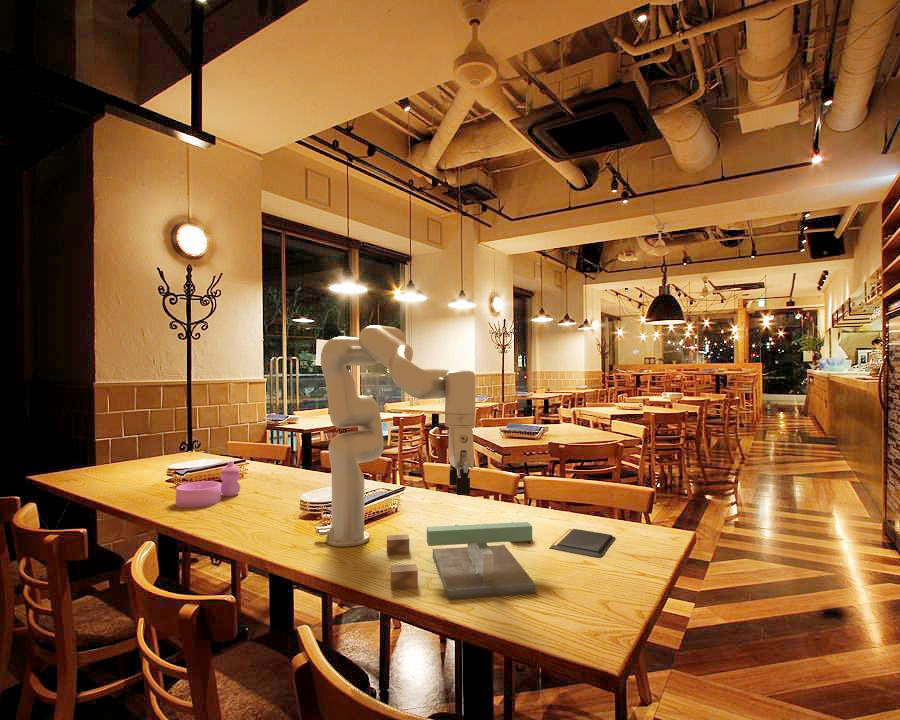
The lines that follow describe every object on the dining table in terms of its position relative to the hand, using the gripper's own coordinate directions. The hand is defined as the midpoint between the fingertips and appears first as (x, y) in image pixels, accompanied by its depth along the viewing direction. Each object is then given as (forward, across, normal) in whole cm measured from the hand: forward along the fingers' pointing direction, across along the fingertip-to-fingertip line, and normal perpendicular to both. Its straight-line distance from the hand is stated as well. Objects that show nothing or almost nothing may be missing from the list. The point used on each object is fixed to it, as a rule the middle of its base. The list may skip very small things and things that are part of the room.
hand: (459, 489), depth 123 cm
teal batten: (+13, 0, -5) cm, 14 cm away
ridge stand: (+21, 0, -5) cm, 21 cm away
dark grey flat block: (+21, +17, -40) cm, 49 cm away
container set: (+22, +86, +82) cm, 121 cm away
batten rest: (+21, +7, +14) cm, 26 cm away
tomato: (+21, +22, -22) cm, 38 cm away
